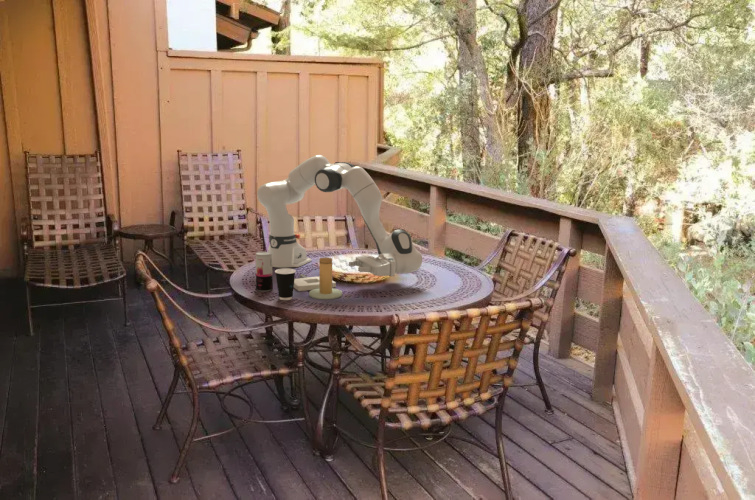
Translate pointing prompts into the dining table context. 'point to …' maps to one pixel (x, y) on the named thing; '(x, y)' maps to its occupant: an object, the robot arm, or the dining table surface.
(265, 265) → the beverage can
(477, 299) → the dining table surface
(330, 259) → the plug
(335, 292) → the mat
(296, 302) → the dining table surface
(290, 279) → the dixie cup
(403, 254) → the robot arm
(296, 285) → the socket block
